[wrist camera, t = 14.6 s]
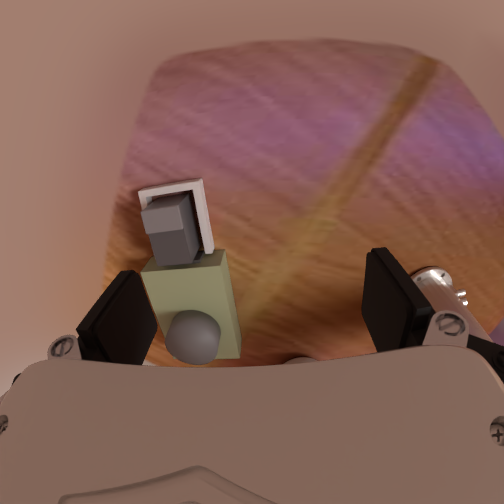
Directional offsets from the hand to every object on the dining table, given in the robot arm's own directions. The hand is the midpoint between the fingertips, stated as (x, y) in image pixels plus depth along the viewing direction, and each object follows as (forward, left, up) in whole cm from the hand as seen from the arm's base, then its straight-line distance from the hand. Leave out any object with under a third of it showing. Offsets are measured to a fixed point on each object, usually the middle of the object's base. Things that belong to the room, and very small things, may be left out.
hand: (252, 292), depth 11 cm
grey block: (+13, +6, -28) cm, 32 cm away
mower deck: (+12, +15, -28) cm, 34 cm away
